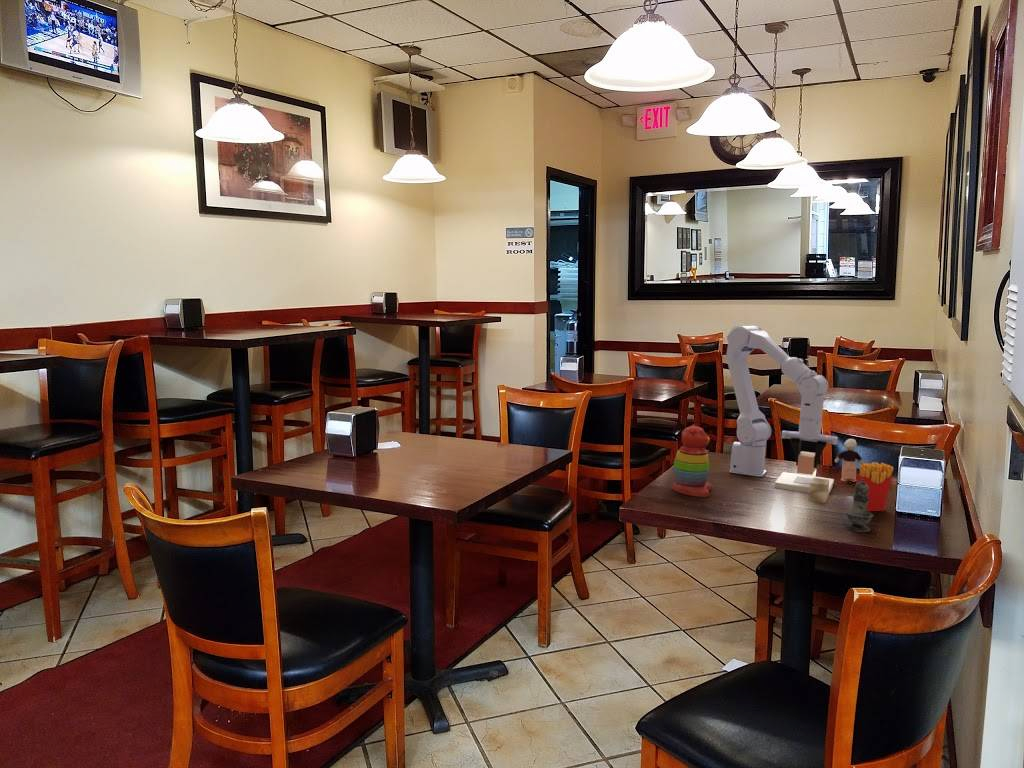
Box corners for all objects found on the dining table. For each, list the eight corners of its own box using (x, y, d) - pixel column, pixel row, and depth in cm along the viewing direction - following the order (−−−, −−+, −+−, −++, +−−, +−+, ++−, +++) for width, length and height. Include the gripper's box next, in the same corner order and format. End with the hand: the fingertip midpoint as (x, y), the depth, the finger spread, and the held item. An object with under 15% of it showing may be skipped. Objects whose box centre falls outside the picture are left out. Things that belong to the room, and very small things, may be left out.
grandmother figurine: (858, 480, 226) (862, 438, 224) (862, 483, 222) (867, 440, 221) (831, 478, 227) (835, 436, 225) (835, 482, 223) (839, 439, 221)
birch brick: (809, 500, 203) (810, 482, 202) (811, 495, 208) (813, 477, 208) (825, 503, 201) (827, 484, 201) (827, 497, 207) (829, 479, 206)
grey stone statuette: (839, 524, 184) (844, 475, 182) (863, 524, 185) (868, 475, 183) (852, 532, 178) (857, 481, 177) (876, 532, 179) (881, 482, 177)
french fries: (859, 511, 195) (864, 465, 193) (851, 506, 199) (856, 461, 197) (891, 511, 196) (896, 465, 194) (883, 507, 199) (888, 462, 198)
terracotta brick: (797, 472, 215) (798, 455, 215) (800, 468, 221) (801, 451, 220) (812, 474, 213) (813, 457, 213) (814, 470, 219) (816, 453, 218)
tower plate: (774, 487, 215) (775, 482, 215) (782, 476, 227) (783, 471, 227) (828, 495, 208) (829, 490, 208) (833, 484, 221) (834, 478, 220)
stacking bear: (708, 498, 202) (713, 431, 199) (669, 493, 205) (673, 427, 203) (712, 488, 212) (717, 424, 209) (675, 483, 215) (679, 421, 213)
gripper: (781, 417, 215) (777, 465, 217) (837, 424, 208) (832, 472, 210) (785, 414, 221) (781, 460, 223) (839, 420, 214) (835, 467, 216)
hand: (806, 466), depth 217 cm, fingers closed on terracotta brick, 4 cm apart
